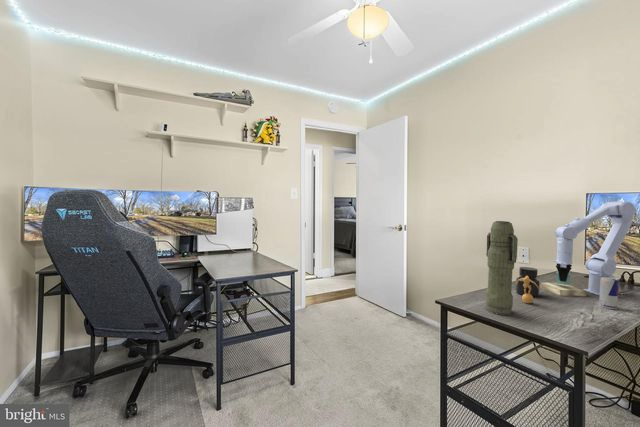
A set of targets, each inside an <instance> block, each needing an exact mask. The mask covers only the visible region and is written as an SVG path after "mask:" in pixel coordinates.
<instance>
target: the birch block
mask: <svg viewBox="0 0 640 427" xmlns="http://www.w3.org/2000/svg"><path fill="white" fill-rule="evenodd" d="M540 288H541V289H543V290H545V291H548V292H550V293H553V294H555V295H557V296H565V297H566V296H567V297H569V296H570V297H587V293H588V291H586V290H583V289H584V288H580V287H578V286H575V285H572V284H570V286H569V285H563V284H557V283H556V282H540Z"/></svg>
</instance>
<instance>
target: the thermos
mask: <svg viewBox="0 0 640 427" xmlns="http://www.w3.org/2000/svg"><path fill="white" fill-rule="evenodd" d="M514 233H515V230H514V226H513V223H512V222H510V221H505V220H495V221H493V222H492V225H491V227H490V232H488V234H487V235H486V254H485V255H486V257H487V267H488V274H487V277H488V278H487V289H486V291H485V310H486V309H487V310H488V311H487V310H486V311H487V312H489V311H490V312H489V313H491V312H493V313H492V314H494V313H497V314H496V315H499V314H502V315H501V316H510V315H509V314H511V313H513V312H512V308H513V304H514V297H513V293H512V287H513V286H512V285H513V284H512V283H513V270H514V268H515V264H516V263H517V258H518V237H517V236H516V235H515V234H514ZM511 315H512V314H511Z"/></svg>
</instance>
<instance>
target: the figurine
mask: <svg viewBox="0 0 640 427" xmlns="http://www.w3.org/2000/svg"><path fill="white" fill-rule="evenodd" d="M519 280H523V281H524V283H525V284H523V286H524V288H525V289H524V292H525V294H524V295H522V296H521V298H522V302H524V303H525V304H532V303H533V302H534V298H535V297H533V296H532V295H531V294H530V291H531V285H529V283H530V282H532V283H534V284H535V285H536V283H535V282H533V281H532V280H530V279H529V277H528V276H526V277H525V278H522V279H518V280H517V282H516V281H515V285H516V284H518V281H519ZM536 286H537V285H536ZM527 287H528V288H529V289H530V290H529V292H528V293H529V294H527V293H526V288H527ZM537 287H538V286H537ZM538 289H539V287H538ZM539 290H540V289H539Z"/></svg>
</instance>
